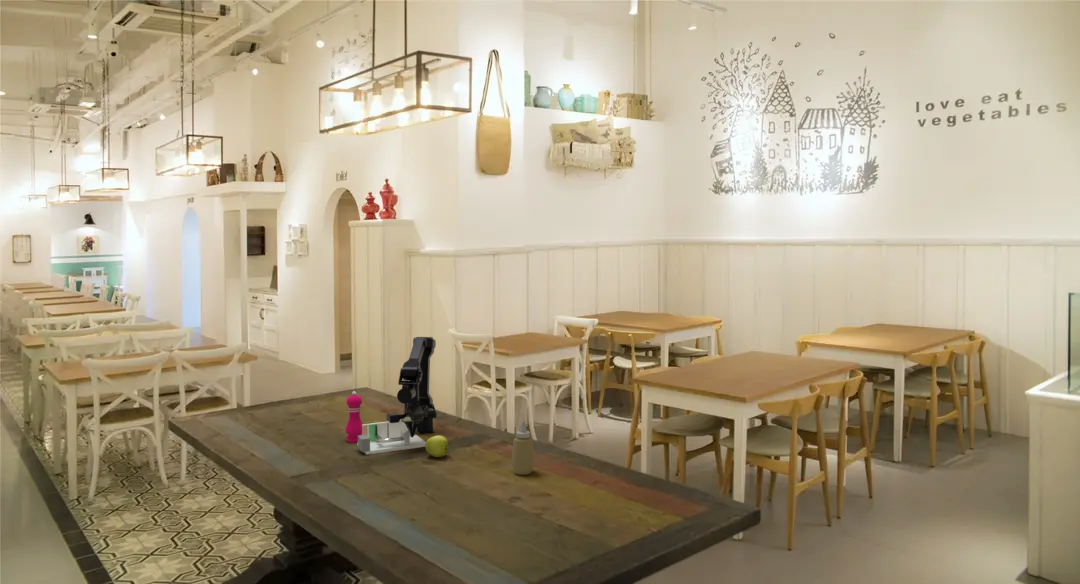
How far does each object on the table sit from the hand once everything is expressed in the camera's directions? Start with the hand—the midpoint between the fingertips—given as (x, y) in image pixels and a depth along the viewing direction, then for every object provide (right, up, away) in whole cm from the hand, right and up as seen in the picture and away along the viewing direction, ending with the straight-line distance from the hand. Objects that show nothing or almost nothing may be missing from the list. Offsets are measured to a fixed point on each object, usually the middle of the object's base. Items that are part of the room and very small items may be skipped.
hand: (412, 437), depth 300 cm
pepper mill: (-24, -3, +8) cm, 26 cm away
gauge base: (-8, -4, 0) cm, 9 cm away
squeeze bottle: (+44, -7, -32) cm, 55 cm away
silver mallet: (-8, -2, 0) cm, 9 cm away
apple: (+12, -5, -14) cm, 19 cm away
